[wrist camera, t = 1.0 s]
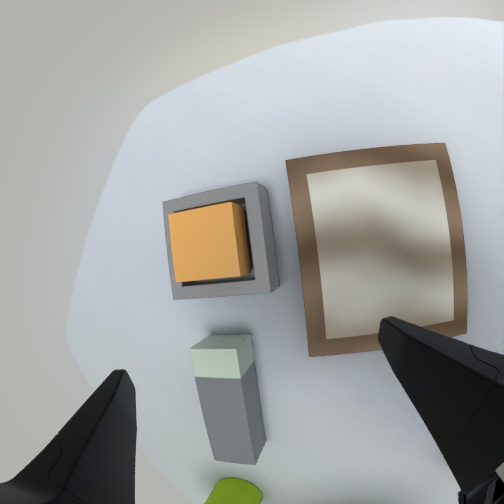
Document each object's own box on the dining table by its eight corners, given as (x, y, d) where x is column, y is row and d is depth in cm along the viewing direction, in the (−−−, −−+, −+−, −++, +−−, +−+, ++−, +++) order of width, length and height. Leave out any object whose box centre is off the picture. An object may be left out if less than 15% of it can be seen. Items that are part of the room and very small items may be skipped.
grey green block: (265, 441, 24) (255, 464, 20) (228, 438, 25) (214, 460, 22) (250, 333, 24) (236, 349, 21) (209, 335, 26) (189, 348, 22)
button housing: (279, 286, 24) (270, 292, 20) (193, 293, 26) (173, 299, 22) (267, 190, 24) (256, 181, 20) (183, 206, 26) (162, 201, 23)
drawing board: (462, 330, 19) (467, 333, 18) (310, 352, 23) (308, 357, 22) (441, 146, 19) (445, 142, 18) (287, 163, 23) (284, 159, 22)
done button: (251, 272, 22) (240, 276, 19) (192, 278, 23) (175, 282, 20) (243, 206, 22) (231, 201, 19) (185, 217, 23) (168, 214, 21)
